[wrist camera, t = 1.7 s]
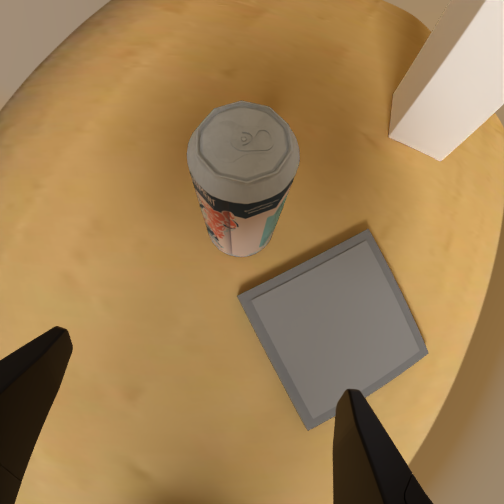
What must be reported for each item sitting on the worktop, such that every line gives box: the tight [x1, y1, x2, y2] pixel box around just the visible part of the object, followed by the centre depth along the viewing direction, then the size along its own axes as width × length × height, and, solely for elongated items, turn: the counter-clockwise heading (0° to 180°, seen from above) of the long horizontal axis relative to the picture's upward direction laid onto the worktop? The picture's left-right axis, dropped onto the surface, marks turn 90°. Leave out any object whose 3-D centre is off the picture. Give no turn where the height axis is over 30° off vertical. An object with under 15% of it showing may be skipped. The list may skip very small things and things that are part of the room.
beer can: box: [187, 101, 300, 257], centre depth 18 cm, size 5×5×12 cm
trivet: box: [237, 229, 428, 431], centre depth 22 cm, size 11×11×1 cm
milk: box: [388, 0, 504, 161], centre depth 16 cm, size 6×6×22 cm
